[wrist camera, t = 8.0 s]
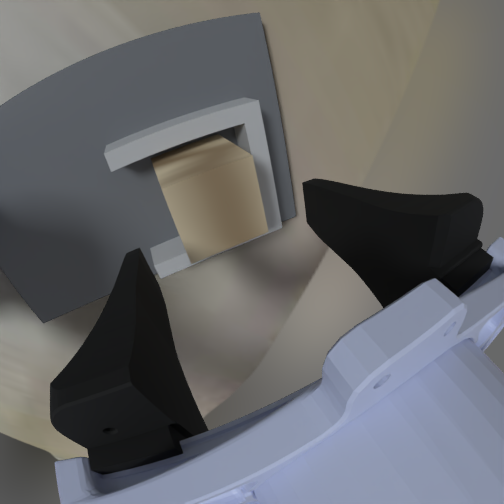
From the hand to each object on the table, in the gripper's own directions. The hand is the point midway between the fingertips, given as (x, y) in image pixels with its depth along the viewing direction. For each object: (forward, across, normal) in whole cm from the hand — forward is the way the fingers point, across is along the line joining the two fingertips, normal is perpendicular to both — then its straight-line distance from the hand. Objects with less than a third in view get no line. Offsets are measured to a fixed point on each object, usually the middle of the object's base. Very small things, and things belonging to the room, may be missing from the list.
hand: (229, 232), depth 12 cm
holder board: (+7, +4, -2) cm, 9 cm away
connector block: (+6, 0, 0) cm, 6 cm away
